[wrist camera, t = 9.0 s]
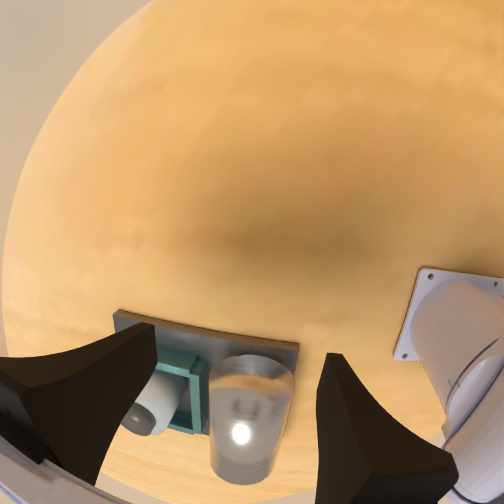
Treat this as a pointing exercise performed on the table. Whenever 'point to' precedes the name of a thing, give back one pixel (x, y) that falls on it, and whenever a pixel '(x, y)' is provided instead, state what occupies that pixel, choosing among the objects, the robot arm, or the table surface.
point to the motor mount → (227, 392)
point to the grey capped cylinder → (155, 404)
